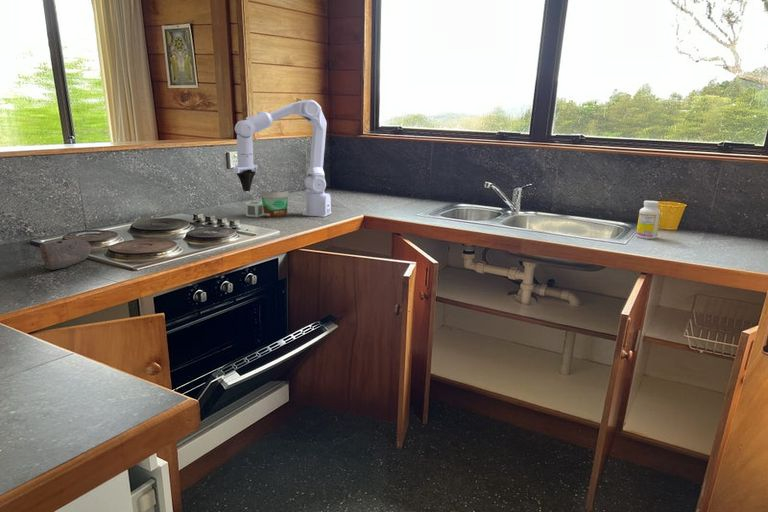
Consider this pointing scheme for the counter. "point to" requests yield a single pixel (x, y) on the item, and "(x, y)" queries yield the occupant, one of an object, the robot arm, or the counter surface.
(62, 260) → the perforated stone tool
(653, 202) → the supplement bottle
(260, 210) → the letter cube
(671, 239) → the counter surface
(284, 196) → the food container
